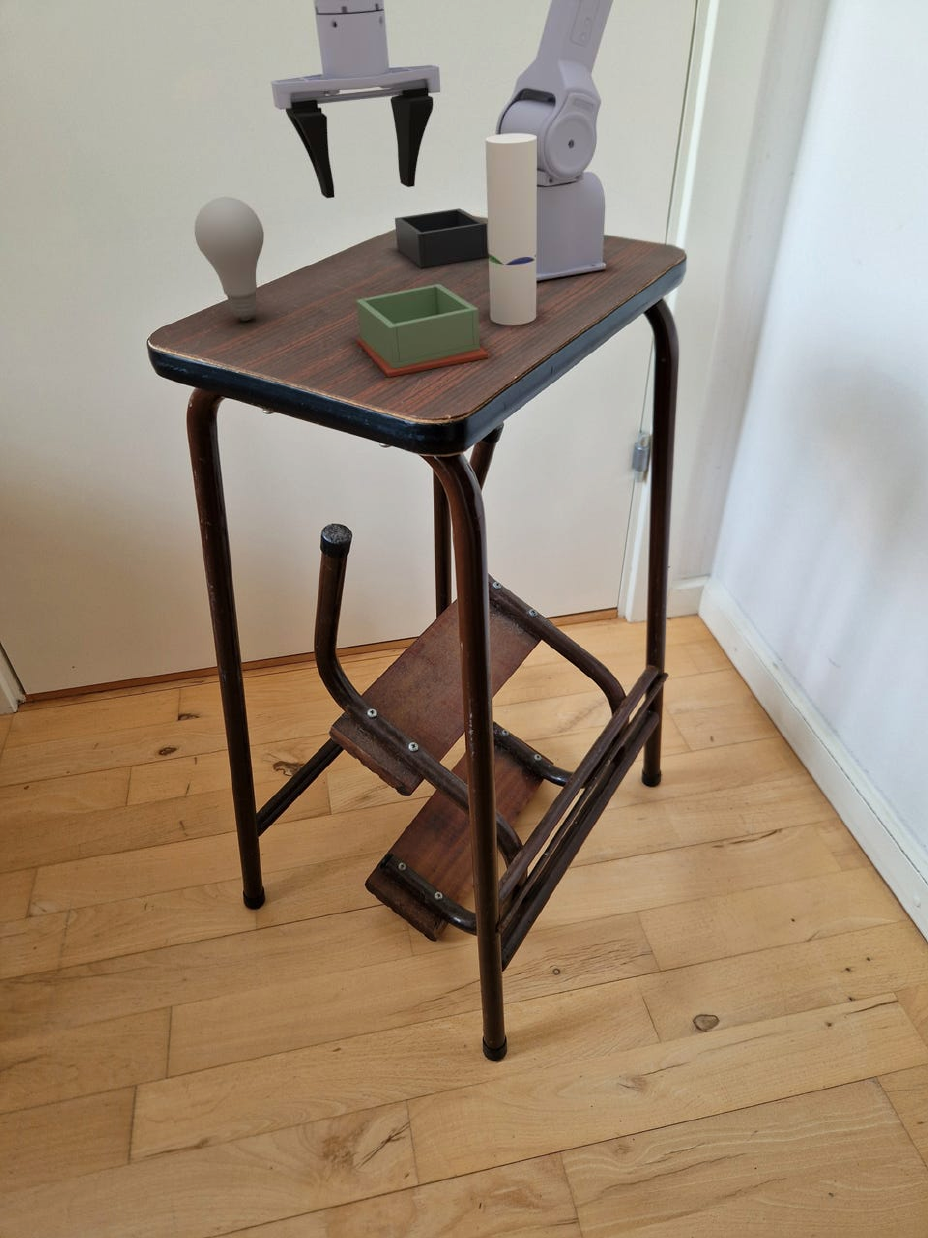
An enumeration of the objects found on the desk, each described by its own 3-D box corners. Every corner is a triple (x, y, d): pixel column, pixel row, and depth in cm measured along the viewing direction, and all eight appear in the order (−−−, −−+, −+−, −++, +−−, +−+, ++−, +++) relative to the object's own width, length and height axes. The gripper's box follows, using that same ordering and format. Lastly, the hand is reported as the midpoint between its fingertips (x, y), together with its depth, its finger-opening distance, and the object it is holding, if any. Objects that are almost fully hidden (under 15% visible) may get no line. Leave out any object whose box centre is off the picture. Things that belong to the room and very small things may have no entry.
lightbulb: (264, 332, 83) (240, 206, 76) (204, 330, 84) (175, 206, 77) (287, 310, 88) (267, 189, 81) (229, 308, 89) (205, 189, 82)
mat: (450, 324, 82) (449, 320, 82) (488, 357, 75) (487, 353, 75) (357, 342, 80) (356, 337, 79) (388, 377, 73) (387, 372, 73)
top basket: (441, 321, 82) (439, 283, 80) (479, 349, 76) (478, 308, 74) (360, 339, 79) (355, 299, 77) (393, 368, 73) (389, 327, 71)
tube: (500, 307, 85) (496, 132, 76) (542, 311, 84) (543, 133, 75) (483, 322, 82) (477, 142, 73) (527, 327, 81) (526, 143, 71)
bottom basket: (461, 239, 104) (460, 207, 102) (487, 256, 99) (486, 223, 96) (397, 249, 102) (394, 217, 100) (420, 268, 96) (418, 234, 94)
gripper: (416, 2, 78) (427, 171, 86) (253, 15, 74) (281, 191, 82) (444, 6, 73) (453, 185, 81) (271, 20, 69) (299, 207, 77)
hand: (368, 190), depth 81 cm, fingers open, 7 cm apart
